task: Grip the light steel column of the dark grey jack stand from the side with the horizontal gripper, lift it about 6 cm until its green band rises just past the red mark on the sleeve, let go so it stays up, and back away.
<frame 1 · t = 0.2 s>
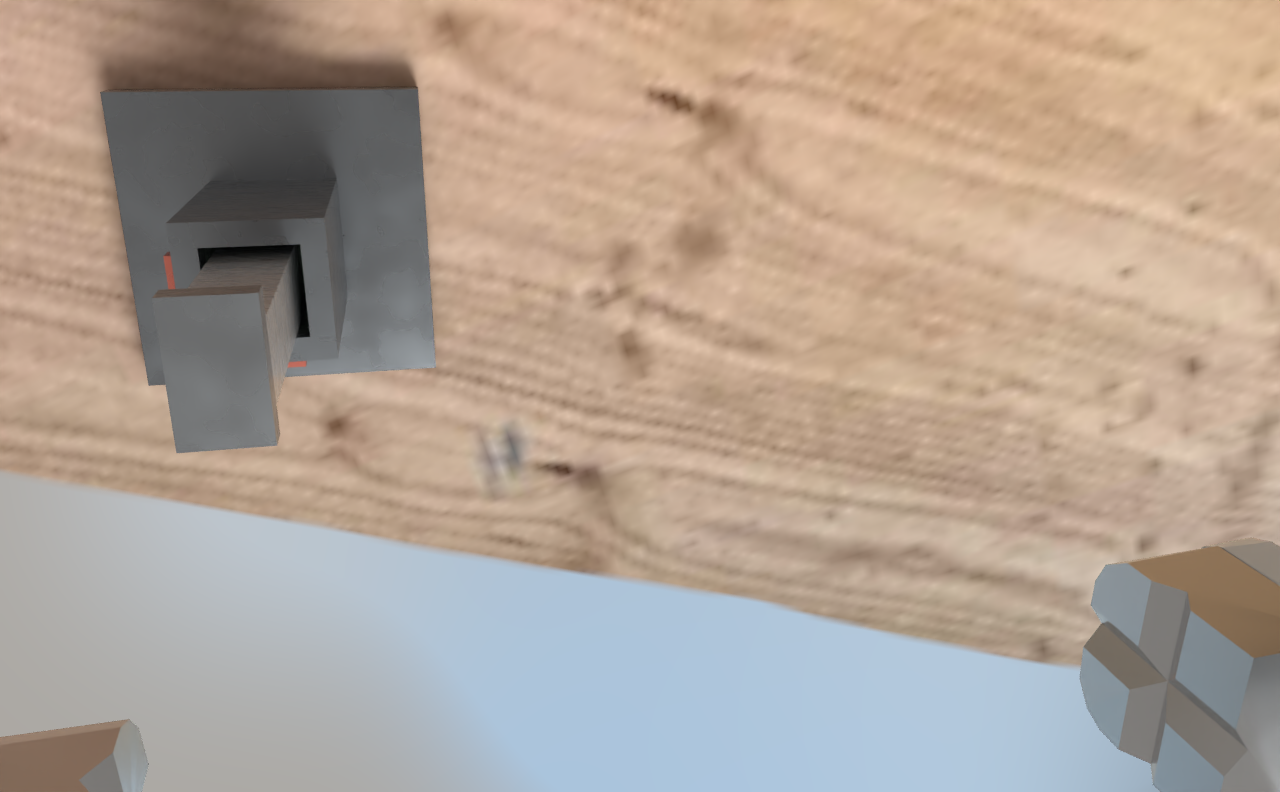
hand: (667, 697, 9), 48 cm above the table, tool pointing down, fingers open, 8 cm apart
column: (255, 293, 41), point 12 cm above the table, slide at 0.0 cm
jack stand: (283, 234, 52), on the table
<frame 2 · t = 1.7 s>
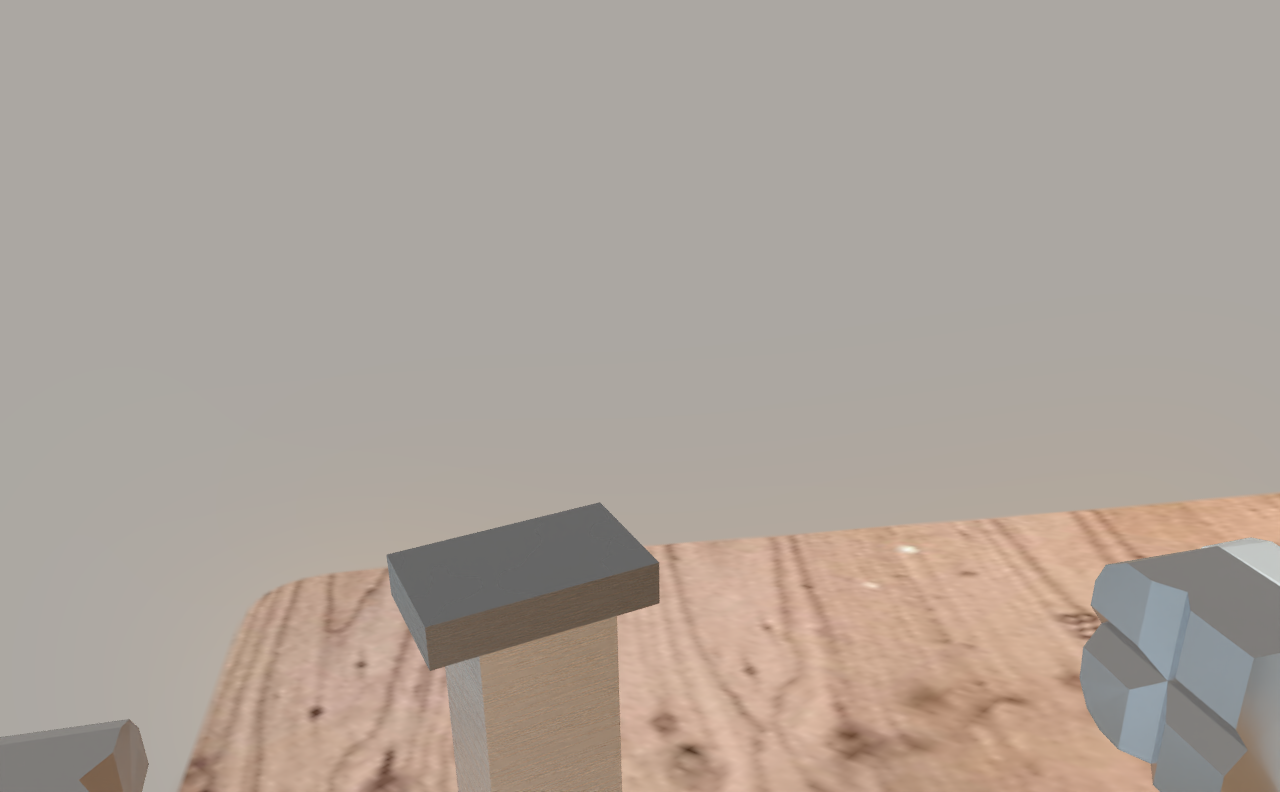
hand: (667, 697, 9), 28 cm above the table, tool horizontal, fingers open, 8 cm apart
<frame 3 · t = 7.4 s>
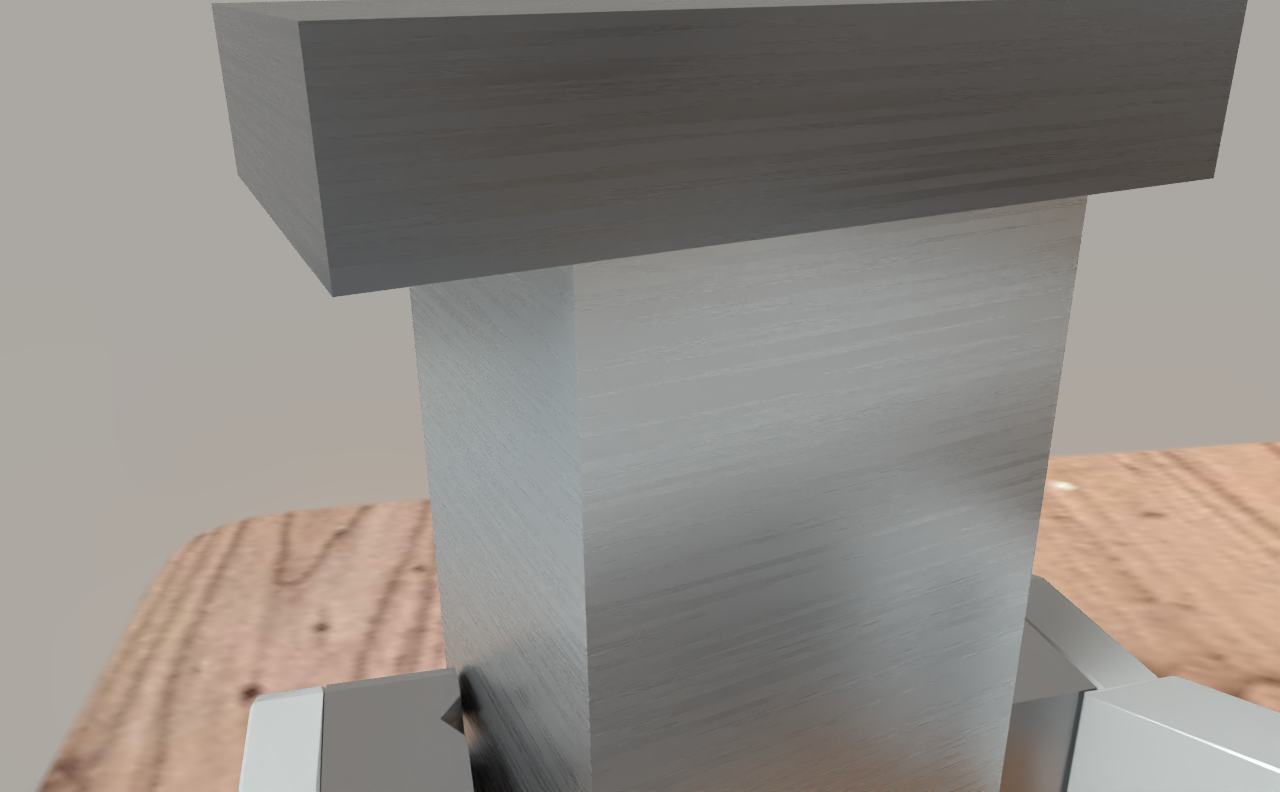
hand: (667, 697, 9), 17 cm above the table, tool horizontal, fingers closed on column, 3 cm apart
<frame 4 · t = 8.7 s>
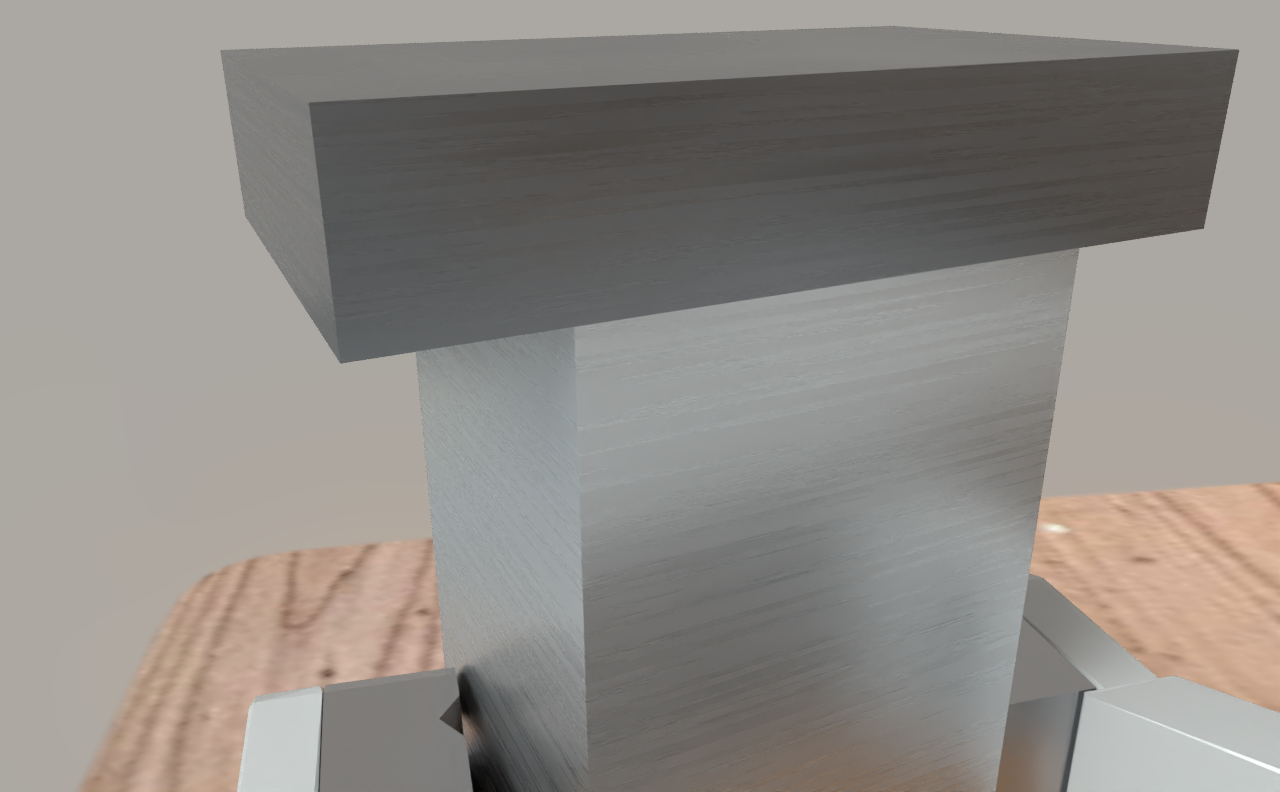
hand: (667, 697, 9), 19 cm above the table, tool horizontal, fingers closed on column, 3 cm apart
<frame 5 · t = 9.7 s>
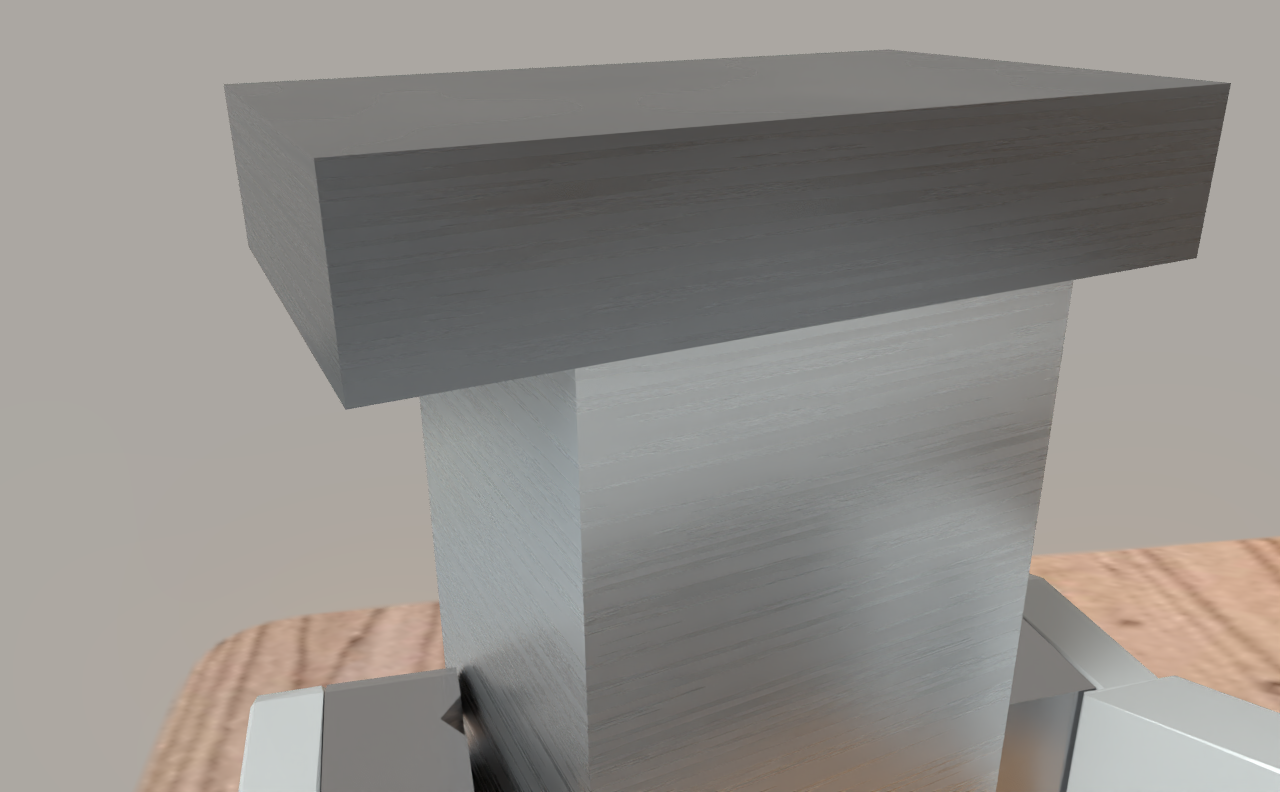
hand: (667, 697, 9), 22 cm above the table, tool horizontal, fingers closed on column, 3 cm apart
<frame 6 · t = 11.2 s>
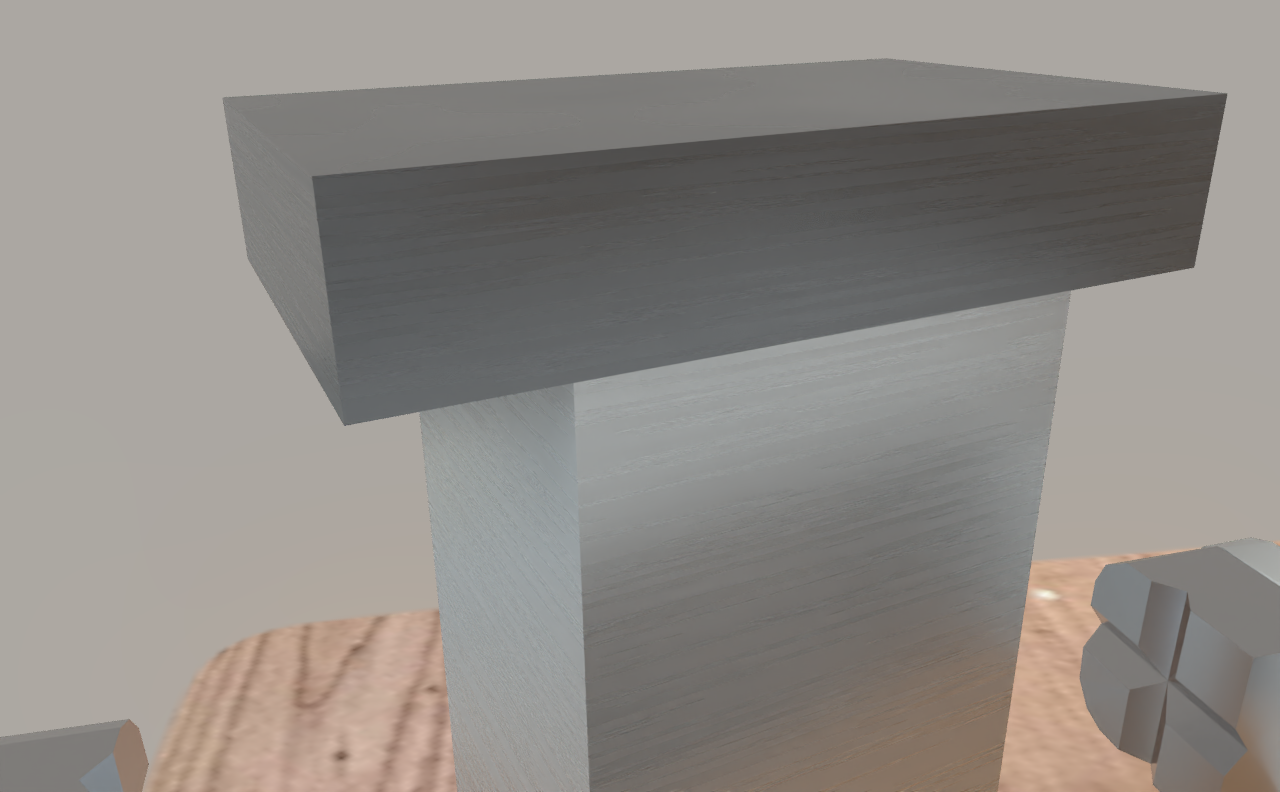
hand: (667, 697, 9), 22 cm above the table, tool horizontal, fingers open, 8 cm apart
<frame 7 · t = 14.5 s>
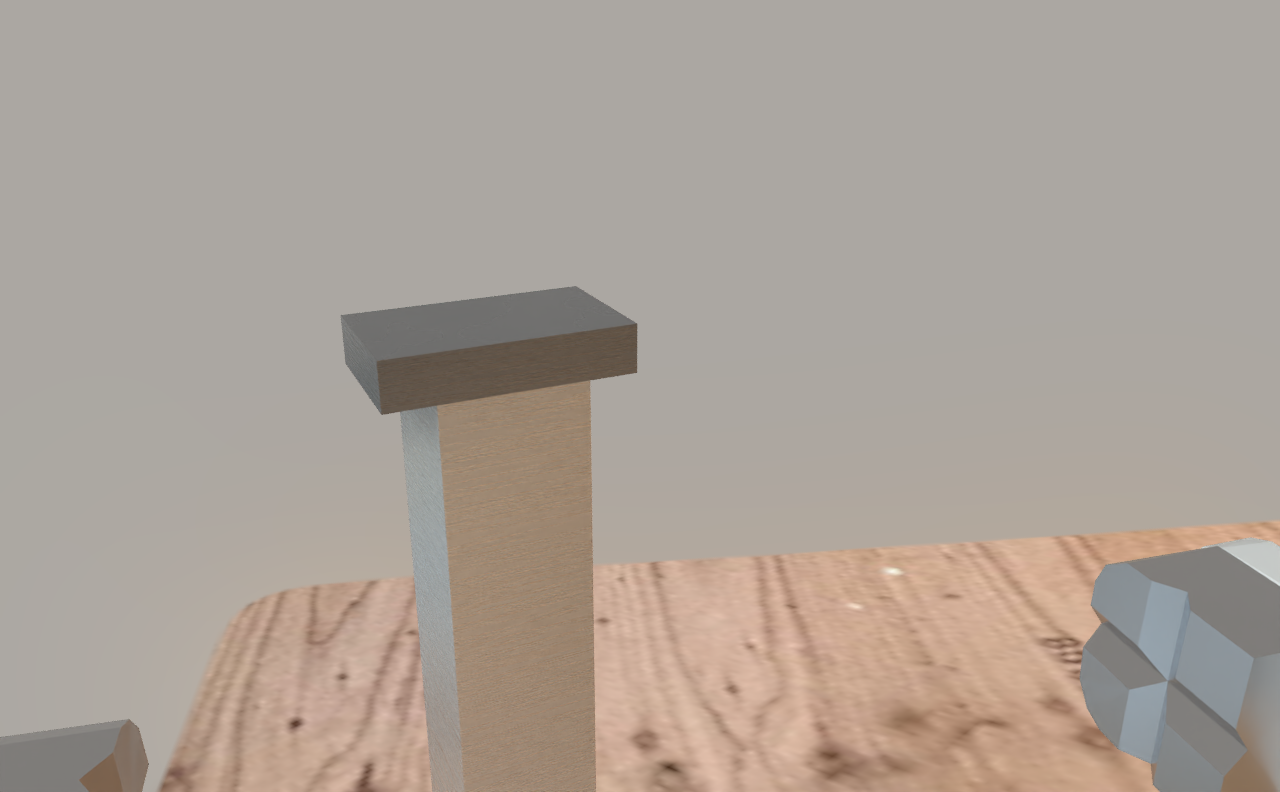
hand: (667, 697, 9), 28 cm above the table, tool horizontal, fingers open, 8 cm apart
column: (508, 739, 24), point 17 cm above the table, slide at 5.4 cm
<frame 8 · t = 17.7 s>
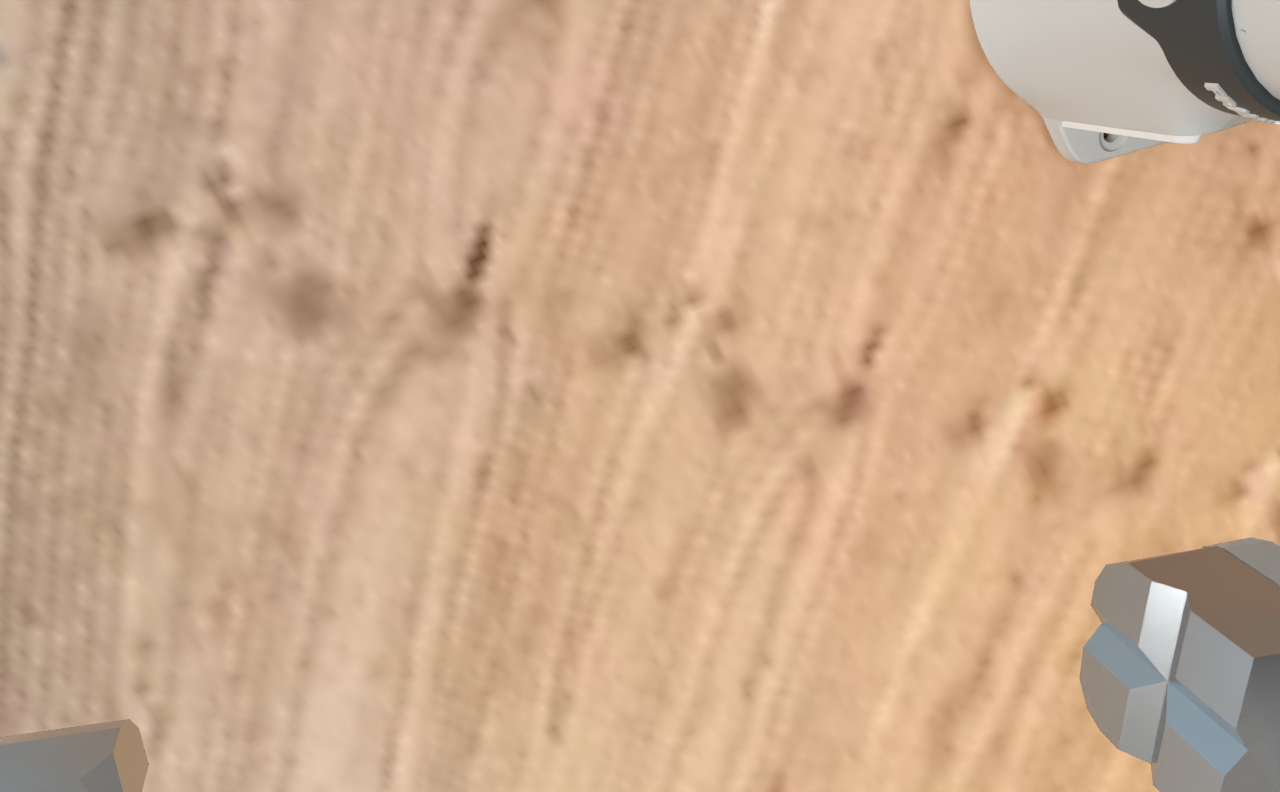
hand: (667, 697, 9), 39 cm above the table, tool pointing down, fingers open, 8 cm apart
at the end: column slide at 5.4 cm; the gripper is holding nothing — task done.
